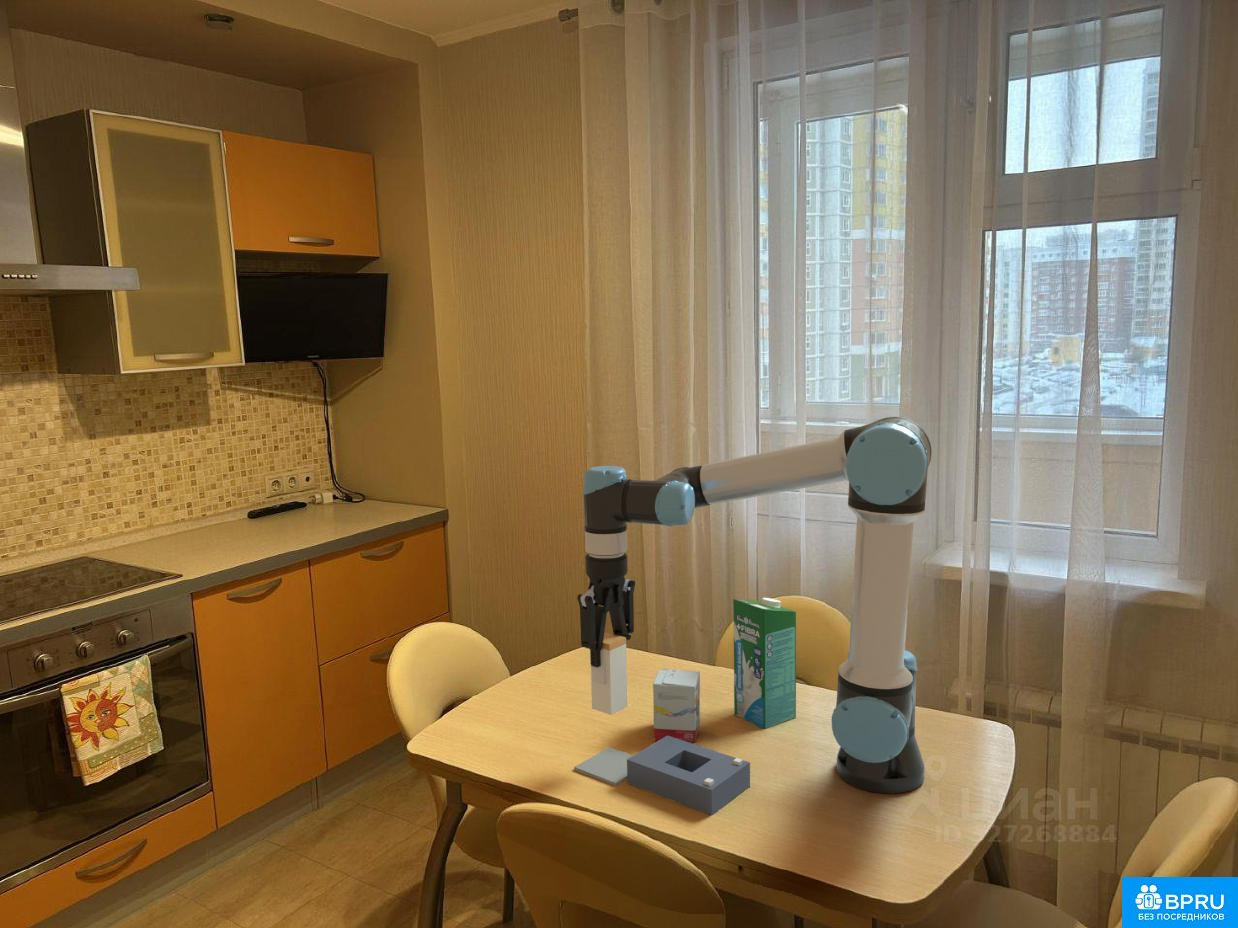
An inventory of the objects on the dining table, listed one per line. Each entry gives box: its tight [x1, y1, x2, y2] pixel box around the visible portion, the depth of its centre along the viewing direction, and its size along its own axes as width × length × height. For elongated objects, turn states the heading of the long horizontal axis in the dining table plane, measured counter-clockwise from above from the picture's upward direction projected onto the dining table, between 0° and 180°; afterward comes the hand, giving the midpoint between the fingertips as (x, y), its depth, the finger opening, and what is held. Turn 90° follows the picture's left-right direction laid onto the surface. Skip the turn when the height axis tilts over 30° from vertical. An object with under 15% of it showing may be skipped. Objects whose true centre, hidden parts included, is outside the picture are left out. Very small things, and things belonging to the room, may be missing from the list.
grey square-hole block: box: [626, 736, 751, 816], centre depth 161 cm, size 18×12×5 cm, turn 50°
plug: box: [590, 632, 628, 716], centre depth 166 cm, size 5×5×13 cm
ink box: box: [652, 668, 701, 744], centre depth 182 cm, size 9×9×12 cm
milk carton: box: [732, 597, 797, 730], centre depth 187 cm, size 9×9×25 cm
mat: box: [573, 746, 634, 787], centre depth 169 cm, size 10×10×1 cm
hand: (609, 677), depth 166 cm, fingers closed on plug, 5 cm apart
